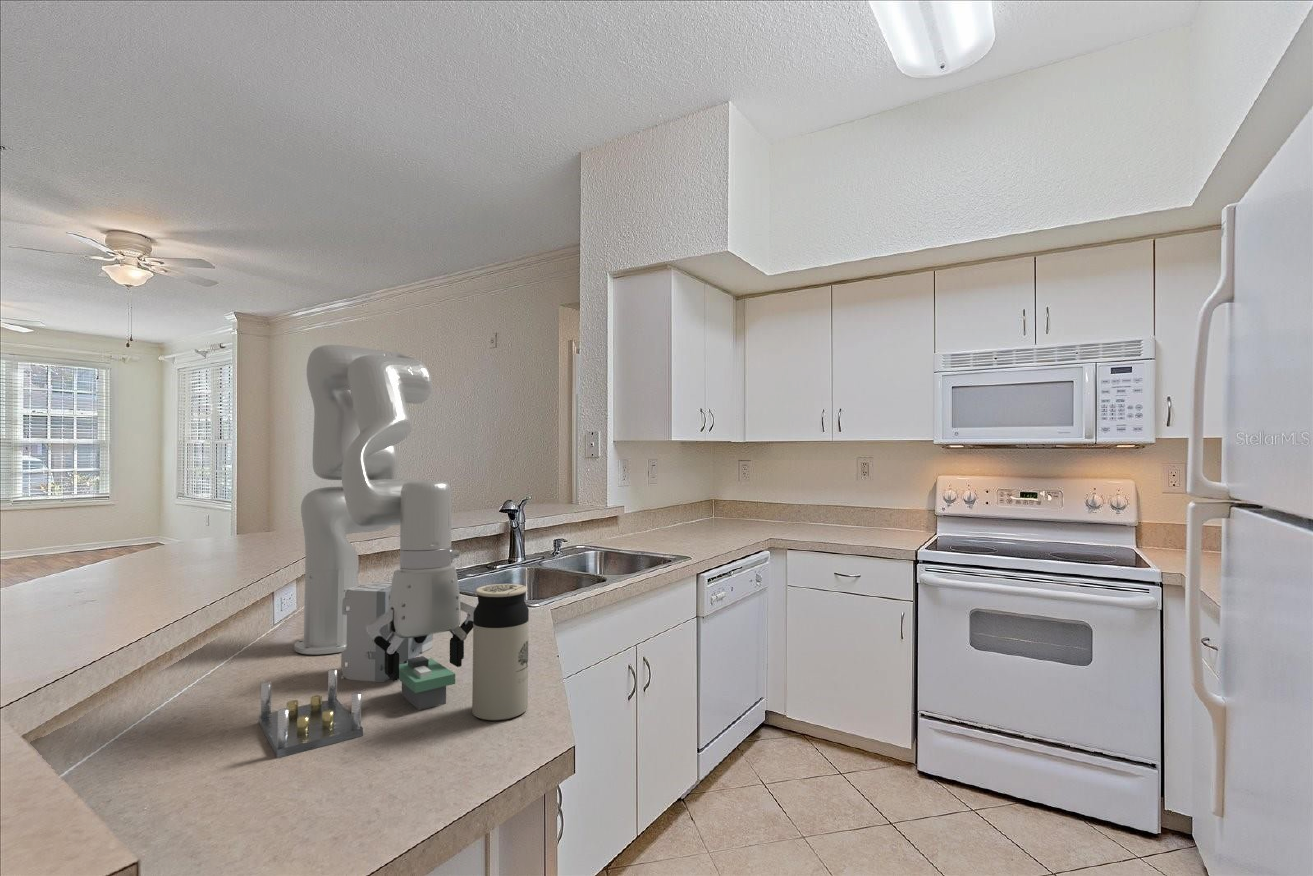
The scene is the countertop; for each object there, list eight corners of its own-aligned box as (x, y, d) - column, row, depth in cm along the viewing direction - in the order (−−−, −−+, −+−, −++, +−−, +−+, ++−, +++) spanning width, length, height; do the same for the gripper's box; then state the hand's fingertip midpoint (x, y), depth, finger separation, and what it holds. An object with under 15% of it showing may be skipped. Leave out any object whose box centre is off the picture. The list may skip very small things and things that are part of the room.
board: (393, 675, 100) (393, 659, 100) (430, 667, 104) (431, 652, 104) (415, 693, 93) (415, 675, 93) (455, 683, 97) (455, 667, 97)
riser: (401, 694, 100) (401, 675, 100) (426, 689, 103) (427, 670, 103) (419, 710, 94) (419, 689, 94) (446, 703, 97) (446, 683, 97)
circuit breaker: (416, 684, 105) (418, 593, 105) (340, 678, 108) (342, 589, 108) (441, 670, 112) (442, 584, 113) (369, 664, 115) (370, 581, 115)
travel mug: (460, 717, 91) (462, 591, 92) (494, 698, 99) (495, 581, 99) (507, 725, 88) (508, 595, 89) (538, 705, 96) (539, 585, 97)
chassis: (258, 722, 89) (259, 683, 90) (336, 705, 96) (336, 668, 96) (277, 758, 79) (278, 713, 79) (362, 735, 85) (363, 694, 85)
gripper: (468, 552, 107) (468, 655, 107) (360, 563, 96) (358, 678, 95) (488, 556, 102) (488, 665, 101) (375, 568, 91) (373, 690, 90)
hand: (425, 671), depth 98 cm, fingers open, 9 cm apart
